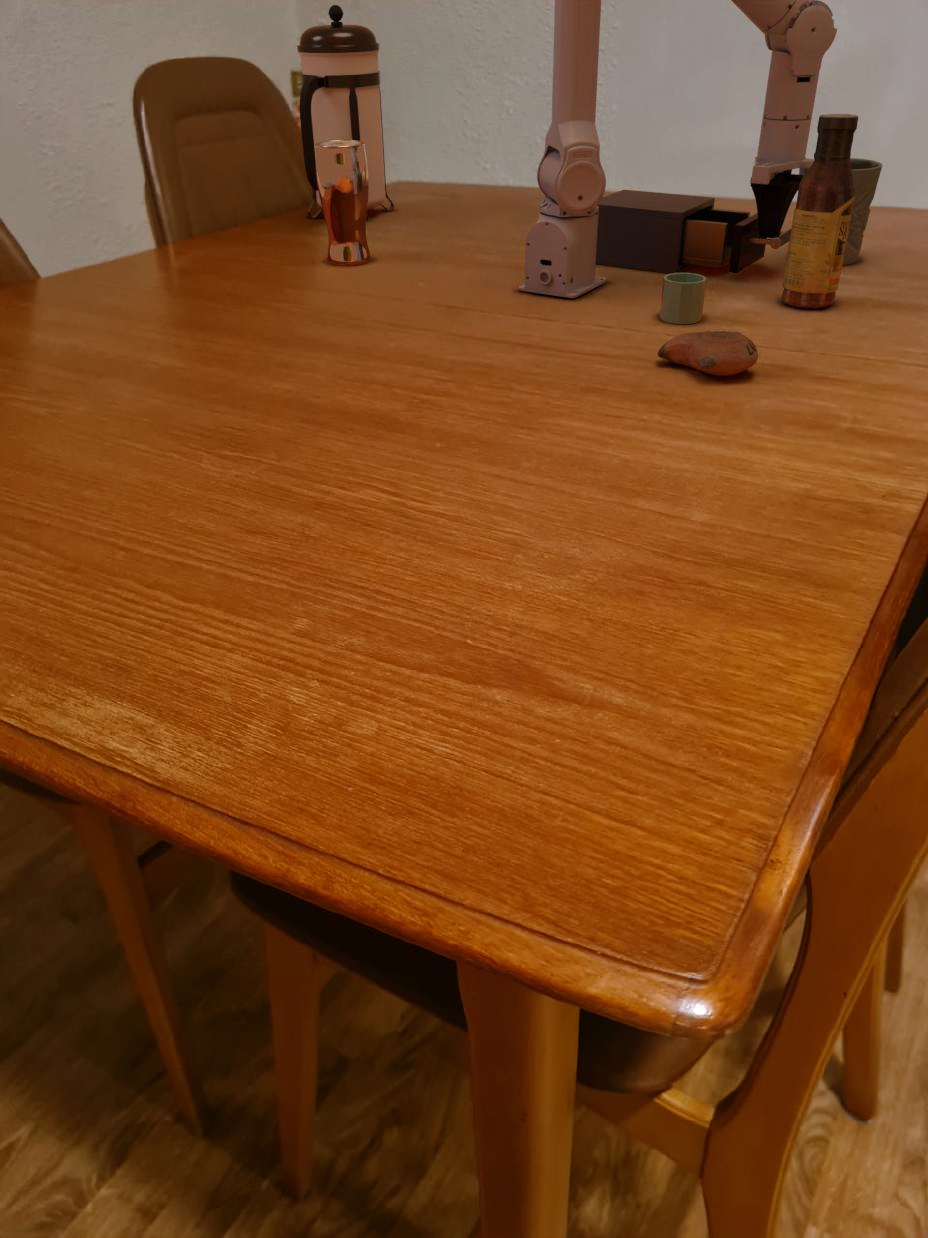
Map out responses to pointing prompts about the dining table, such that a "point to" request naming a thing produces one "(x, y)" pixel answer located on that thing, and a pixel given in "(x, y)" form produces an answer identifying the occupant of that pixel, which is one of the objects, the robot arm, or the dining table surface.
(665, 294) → the jar
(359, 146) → the beer glass
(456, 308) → the dining table surface
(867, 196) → the grey tapered cup
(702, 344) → the sweet potato
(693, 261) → the drawer
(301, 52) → the coffee press
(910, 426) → the dining table surface
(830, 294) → the sauce bottle
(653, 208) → the dark grey cabinet
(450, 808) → the dining table surface
